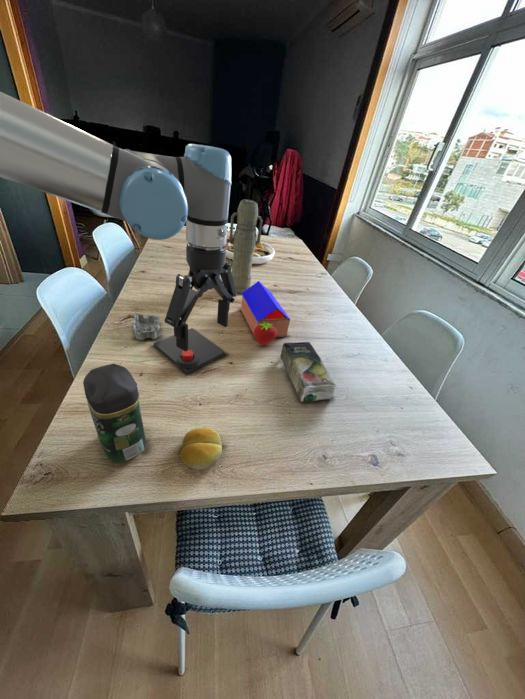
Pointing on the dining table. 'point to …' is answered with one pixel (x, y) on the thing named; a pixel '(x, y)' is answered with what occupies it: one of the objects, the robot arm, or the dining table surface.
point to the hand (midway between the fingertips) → (203, 335)
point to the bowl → (260, 254)
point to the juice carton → (307, 372)
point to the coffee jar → (115, 411)
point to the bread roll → (201, 448)
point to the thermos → (244, 243)
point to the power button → (187, 355)
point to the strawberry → (265, 333)
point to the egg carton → (146, 326)
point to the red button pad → (197, 344)
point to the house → (263, 309)
